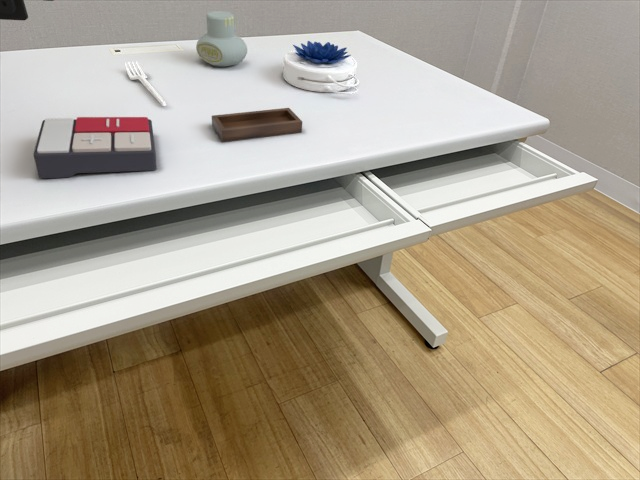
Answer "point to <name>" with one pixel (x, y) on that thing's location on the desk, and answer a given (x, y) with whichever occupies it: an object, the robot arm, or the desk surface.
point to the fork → (143, 81)
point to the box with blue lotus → (320, 68)
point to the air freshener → (221, 41)
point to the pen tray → (256, 124)
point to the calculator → (94, 146)
